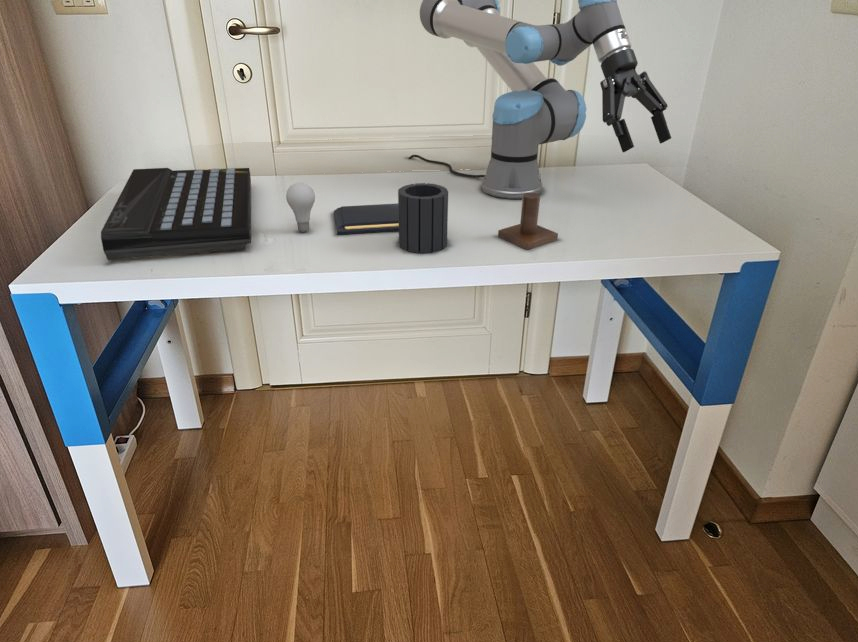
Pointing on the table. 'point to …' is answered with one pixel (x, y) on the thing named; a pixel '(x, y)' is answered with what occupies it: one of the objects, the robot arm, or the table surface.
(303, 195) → the lightbulb
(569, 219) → the table surface
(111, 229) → the computer keyboard
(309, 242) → the table surface
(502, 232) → the peg
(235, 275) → the table surface
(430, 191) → the ribbed pencil cup
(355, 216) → the wallet
